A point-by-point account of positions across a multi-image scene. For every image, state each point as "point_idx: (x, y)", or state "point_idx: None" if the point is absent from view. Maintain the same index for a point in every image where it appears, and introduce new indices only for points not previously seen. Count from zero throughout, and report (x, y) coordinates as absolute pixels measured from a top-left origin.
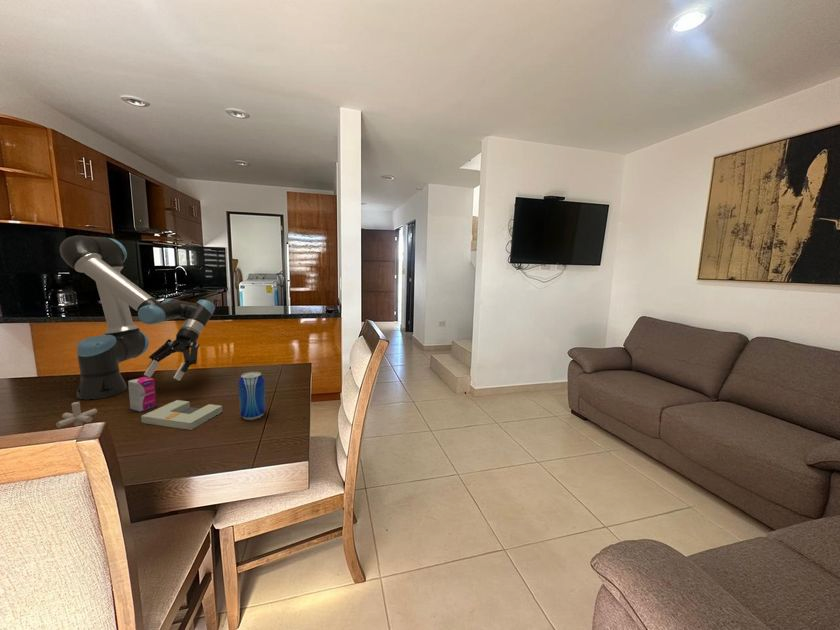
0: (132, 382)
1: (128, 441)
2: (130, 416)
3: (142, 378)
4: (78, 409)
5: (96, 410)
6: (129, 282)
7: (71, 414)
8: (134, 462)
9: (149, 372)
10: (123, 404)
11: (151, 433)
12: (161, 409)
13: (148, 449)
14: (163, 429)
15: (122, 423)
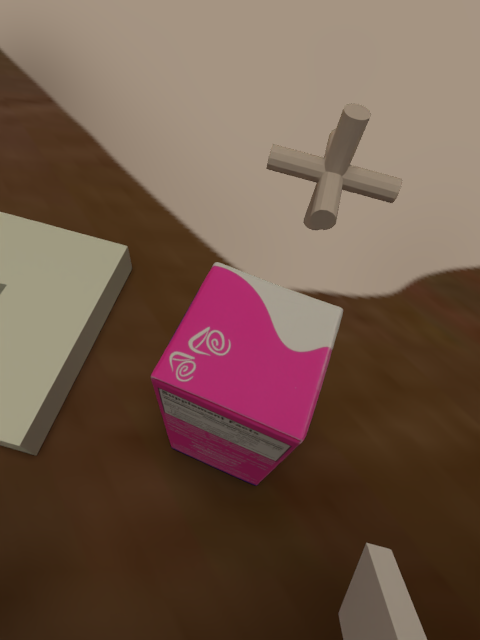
0: (286, 290)
1: (96, 159)
2: None
3: (274, 377)
4: (333, 137)
5: (313, 211)
6: None
7: (362, 169)
8: (16, 79)
9: (367, 617)
10: (393, 482)
11: (42, 193)
12: (61, 307)
13: (5, 118)
14: None
15: None
